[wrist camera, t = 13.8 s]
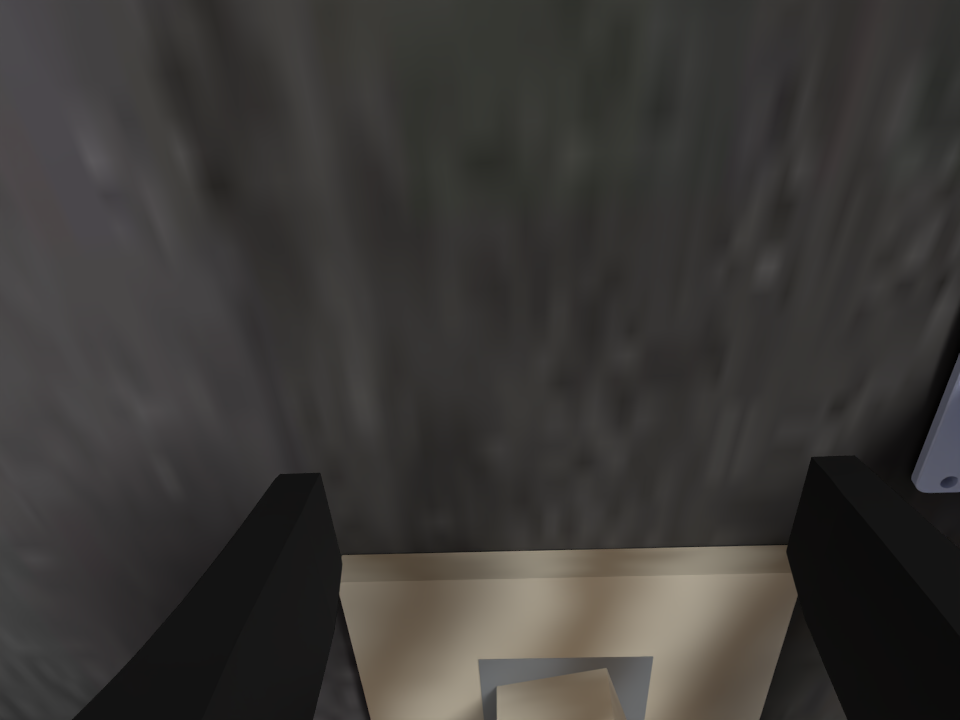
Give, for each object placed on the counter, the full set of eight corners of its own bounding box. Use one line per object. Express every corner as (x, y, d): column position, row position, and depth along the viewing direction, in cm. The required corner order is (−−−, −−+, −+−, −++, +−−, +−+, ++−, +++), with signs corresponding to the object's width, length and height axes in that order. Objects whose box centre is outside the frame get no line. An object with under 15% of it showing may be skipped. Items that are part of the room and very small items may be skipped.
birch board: (793, 544, 26) (805, 573, 25) (728, 771, 35) (735, 798, 34) (342, 555, 27) (336, 583, 26) (394, 774, 36) (391, 802, 35)
